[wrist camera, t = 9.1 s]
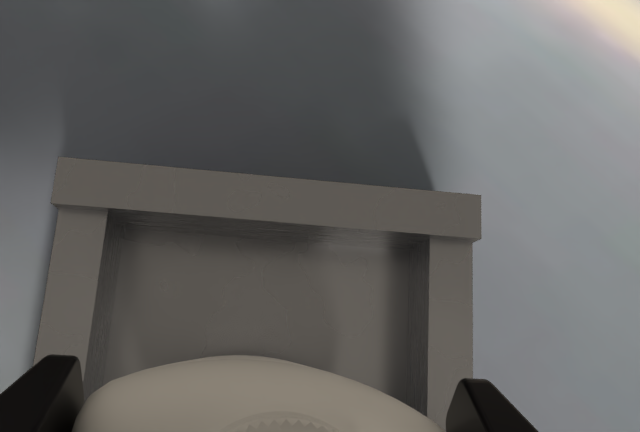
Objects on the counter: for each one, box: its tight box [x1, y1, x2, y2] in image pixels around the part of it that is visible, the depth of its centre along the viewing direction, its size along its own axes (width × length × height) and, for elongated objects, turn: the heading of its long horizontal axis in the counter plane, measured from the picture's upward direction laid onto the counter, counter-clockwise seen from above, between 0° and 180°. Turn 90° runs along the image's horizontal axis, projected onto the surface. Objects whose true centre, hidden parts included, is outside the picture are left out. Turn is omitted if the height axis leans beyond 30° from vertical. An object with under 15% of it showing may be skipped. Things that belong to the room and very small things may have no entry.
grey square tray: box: [33, 157, 481, 431], centre depth 15 cm, size 10×11×3 cm
